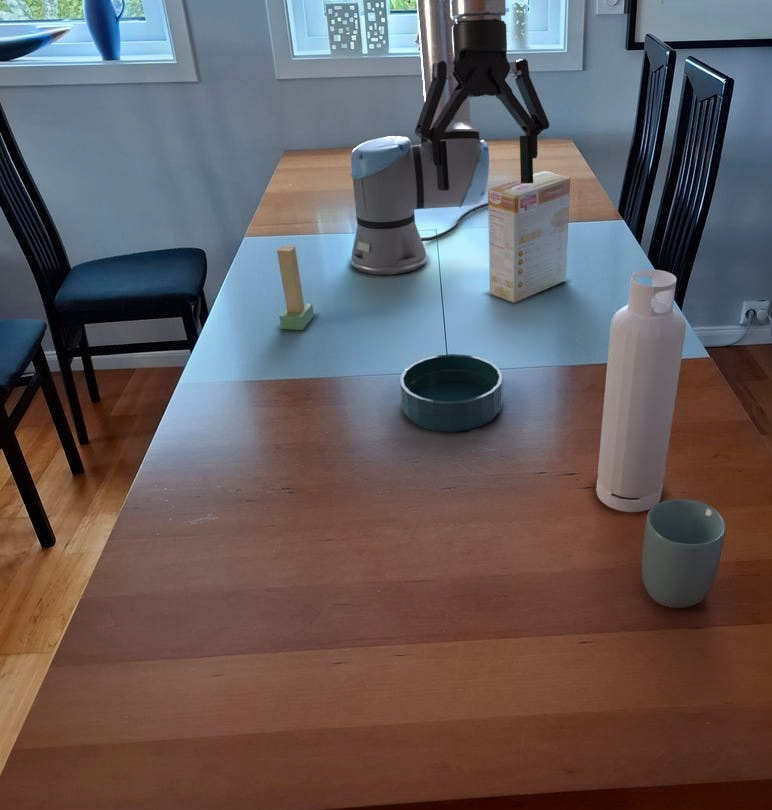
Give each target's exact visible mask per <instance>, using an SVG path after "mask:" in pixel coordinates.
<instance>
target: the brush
mask: <svg viewBox="0 0 772 810" xmlns="http://www.w3.org/2000/svg"><path fill="white" fill-rule="evenodd" d="M276 255H277V260H278V264H279V265H278V266H279V272H280V277H281V282H282V283H281V284H282V290H283V294H284V300H285V307H286V308H285V309H284V310H283V312H282V313H281V314H280V315H279V323H280V327H281V330H293V331H295V330H296V331H304V330H305V328H306V327H307V326H308V325H309V323H310V322H311V321H312V319H313V318H314V317H315V314H314V308H313V307H314V306H313V304H312V303H308V302H307V303H305V301H304V296H303V287H302V282H301V276H300V270H299V263H298V257H297V250H296V246H295V245H281V246H280V247H278V248H277V250H276Z"/></svg>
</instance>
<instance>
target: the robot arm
mask: <svg viewBox="0 0 772 810" xmlns="http://www.w3.org/2000/svg"><path fill="white" fill-rule="evenodd" d="M416 5H417V6H416V7H417V8H416V9H417V18H418V20H417V22H418V31H419V43H420V44H419V46H420V55H421V56H420V58H421V71H422V80H423V81H422V82H423V96H424V103H423V105H422V109H421V112H420V113H419V114H420V115H419V117H418V120H417V123H416V126H415V129H414V135H415V136H416V137H418V138H419V144H416V145H415V144H414V145H412V142H411V140H410V139H409V138H408V137H407V136H403V135H398V136H395V135H392V136H391V135H390V136H383V137H378V138H374V139H371V140H370V139H369V140H367V141H365V142H363V143H361V144H359V145H357V146H356V147H355V148H354V149H353V150H352V151H351V153H350V168H351V169H350V170H351V172H350V177H351V179H352V186H353V187H352V188H353V197H354V206H355V215H356V216H355V217H356V231H355V235H354V241H353V246H352V250H351V262H352V263H351V264H352V267H353V268H354V269H356V270H357V271H359V272H361V273H364V274H370V275H376V276H377V275H378V276H392V275H402V274H406V273H409V272H413V271H416V270H418V269H419V268H422V267H423V266H424V265H425V264H426V262H427V253H426V248H425V246H424V243H423V242H431V241H434V240H437V239H439V238H443V237H444V236H446V235H448V234H450V233H452V232H453V231H454V230H456V228H457V227H458V225H459V223H460V222H461V221H462V220H463V219H464V218H466V217H467V216H468V215H470V214H471V213H473V212H477V211H478V210H480V209H483V208H486V207H487V208H488V202H485V203H482V204H480V203H481V202H482V201H483V200H484V198H485V195H486V192H487V189H488V181H489V173H490V152H489V150H490V149H489V148H490V147H489V144H488V142H487V141H485V140H484V139H482V140H480V138H481V137H480V130H479V129H478V128H477V126H475V125H474V124H473V123H472V120H471V105H470V98H477V97H478V98H479V97H494V96H495V97H496V98H497V99H498V100H499V101H500V102H501V103H502V105H503V106H504V107H505V109H506V110H507V111H508V113H509V114H510V115H511V117H512V118H513V120H514V121H515V122H516V123H517V125H518V126H519V128H520V129H521V130H522V132H523V133H524V134H525V135H519V162H520V163H519V166H520V178H521V183H533V174H534V162H533V161H534V159H537V158H538V154H539V153H538V152H539V151H538V136H539V135H541V133H542V131H545V130H548V129H549V127H550V121H549V118H548V117H547V114H546V113H545V110H544V107H543V105H542V102H541V101H540V98H539V96H538V93H537V91H536V88H535V86H534V84H533V80H532V78H531V76H530V69H529V61H528V60H527V59H526V58H521V59H516V60H514V61H511V62H509V60H508V57H507V51H508V36H507V23H506V22H505V21H504V20H503V18H504V17H505V16H506V15H507V12H506V9H507V8H506V7H507V6H506V0H416ZM509 73H510V75H511V77H512V78H513V79H514V80H515V84H516V86H517V89H518V91H519V93H520V95H521V99H522V100H523V102H524V105H525V107H526V109H527V111H526V109H525V108H524V106H523V105H522V103H521V102H520V101H519V99H518V98H517V97H516V96H515V94H514V92H513V89H512V87H510V85H509V83H508V82H507V81H506V79H507V77H508V75H509ZM478 204H480V205H478ZM468 206H475V207H472V208H470V209H468V210H466V211H465V212H463V213H462V214H461V215H460V216H459V217H458V218H456V219H455V222H454V224H453V225H452V226H451V227H449V228H448V229H447V230H444V231H443V232H441V233H438V234H435V235H431V236H425V237H421V235H420V231H419V230H418V227H417V224H416V217H415V210H425V209H426V210H429V209H442V208H443V209H444V208H463V207H468Z"/></svg>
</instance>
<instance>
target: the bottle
mask: <svg viewBox="0 0 772 810" xmlns="http://www.w3.org/2000/svg"><path fill="white" fill-rule="evenodd" d="M642 276H643V277H644V276H647V277H649V278H650V279H651V281H652V285H646V284H642V283H639V282H637V281H635V279H636V278H639V277H642ZM677 279H678V278H677V277H676V275H674V274H673V273H671V272H669V271H666V270H661V269H643V270H639V271H638V270H637V271H635V272H634V273H631V276H630V282H629V291H628V292H629V293H628V302H627V304H626V305H625V306H623V307H622V308H620V309H618V310H617V311H616V312H615V314H614V315H613V317H612V319H611V321H610V329H609V341H608V351H607V363H606V373H605V386H604V398H603V409H602V419H601V433H600V443H599V455H598V468H597V476H598V477H597V480H596V489H595V492H596V495H597V498H598V499H599V500H600V502H601V503H603V504H604V505H605V506H607V507H608V508H611V509H613V510H616V511H620V512H625V513H640V512H644V511H648V510H649V511H650V509H651V508H652V507H653V506H655V505H656V504H658V503H660V502H661V498H662V492H663V487H664V486H663V482H664V480H665V479H664V478H665V472H666V464H667V459H668V453H669V452H668V451H669V445H670V438H671V432H672V425H673V418H674V411H675V406H676V405H675V404H676V397H677V390H678V384H679V376H680V371H681V363H682V356H683V351H684V343H685V337H686V336H685V335H686V329H687V324H686V321H685V319H684V316H683V314H681V313H680V312H679V311H678V310H677V309H676V308H674V302H675V295H676V286H677ZM620 497H621V498H620ZM627 498H628V499H627Z"/></svg>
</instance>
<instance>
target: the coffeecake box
mask: <svg viewBox="0 0 772 810" xmlns="http://www.w3.org/2000/svg"><path fill="white" fill-rule="evenodd" d="M570 192H571V177H569V176H566V175H561V174H559V173H558V174H557V173H554V172H552V171H547V170H543V171H539V172H536V173H533V183H521V177H520V178H517V179H514V180H511V181H508V182H504V183H500V184H498V185H495V186H492V187H487V201H488V202H487V203H488V206H487V208H488V210H487V211H488V213H487V214H488V268H489V271H488V273H489V275H488V276H489V277H488V279H489V294H490V295H492V296H495V297H498V298H500V299H504V300H506V301H508V302H510V303H513V304H515V303H517V302H519V301H522V300H524V299H526V298H529V297H530V296H533V295H535V294H538V293H540V292H542V291H545V290H548V289H550V288H552V287H555V286H557V285H558V284H561V283H563V282H566V281H567V261H568V260H567V259H568V239H569V237H568V236H569V219H570V218H569V216H570V215H569V214H570Z"/></svg>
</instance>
